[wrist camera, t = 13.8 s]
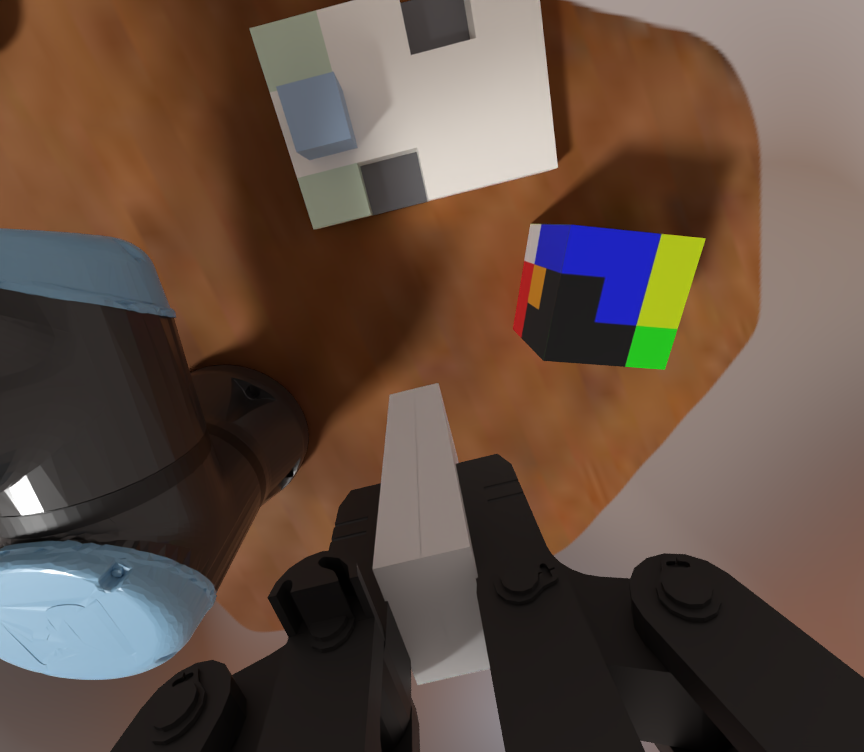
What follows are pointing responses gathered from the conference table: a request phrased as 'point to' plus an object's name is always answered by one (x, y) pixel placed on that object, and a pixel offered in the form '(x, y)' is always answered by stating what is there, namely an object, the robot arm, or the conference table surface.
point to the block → (317, 116)
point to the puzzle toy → (604, 294)
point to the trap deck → (417, 99)
